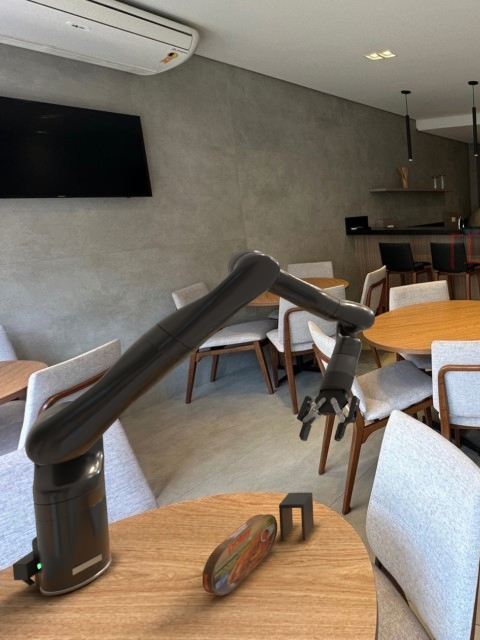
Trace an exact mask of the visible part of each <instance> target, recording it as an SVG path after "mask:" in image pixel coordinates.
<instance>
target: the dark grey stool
mask: <svg viewBox="0 0 480 640" xmlns="http://www.w3.org/2000/svg"><path fill="white" fill-rule="evenodd" d="M313 497H314V496H313V492H310V491H309V492H288V493H287V494H286V496H284V498H283V499H282V501H280V502H279V504H278V514H279V533H280V535H279V537H280V541H281V542H283V541H285V540H286V538H287V536H288V535H289V533H290V532H291V531H292V530H293V528H294V520H293V509H300V515H301V516H300V518H301V519H300V520H301V539H302V541H306V539H308V536H309V535H310V533H311V532H312V530H313V529H314V528H315V527H314V526H315V525H314V523H315V522H314V499H313Z"/></svg>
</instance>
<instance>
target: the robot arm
mask: <svg viewBox="0 0 480 640" xmlns="http://www.w3.org/2000/svg"><path fill="white" fill-rule="evenodd" d="M225 271H226V274H227V276H226V277H225V278H224V279H223V280H222V281H221V282H220V283H218V285H216V286H215V287H214V288H213V289H212V290H210V291H209V292H208V293H206V294H204V295H203V296H201V297H199V298H197V299H195V300H194V301H192V302H189V303H188V304H185V305H183V306H181V307H179V308H177V309H176V310H174V311H172V312H171V313H169V314H167V315H166V316H164V317H162V319H160V320H158V322H156V323H155V324H154V325H152V326H151V327H150V328H149V329H148V330H146V331H145V332H144V333H143V334H142V335H140V336H139V337H138V338H137V339H136V340H135V341H133V343H132V344H130V346H129V347H128V348H127V349H125V351H124V352H123V353H122V354H121V355H120V356H119V357H118V358H117V359H116V361H115V362H114V363H113V364H112V365H111V366H110V367H109V368H108V370H106V372H105V373H104V374H103V375H102V376H101V377H100V378H99V380H97V381H96V382H95V383H94V384H93V385H92V386H91V387H89V388H88V389H86V390H85V391H84V392H83V393H82V394H80V395H79V396H78V397H76V398H75V399H74V400H67V401H63V402H60V403H57V404H55V405H52V406H50V407H49V408H47V409H46V410H44V411H43V412H41V414H40V415H38V417H36V419H35V420H34V422H33V424H32V426H31V428H30V429H29V431H28V433H27V436H26V438H25V443H24V450H25V454H26V457H27V458H28V460H30V461H31V462H32V463H33V478H32V479H33V481H32V501H33V510H34V521H35V522H34V523H35V533H36V536H35V537H33V539H32V540H31V549H32V551H30V552H29V553H27V554H26V555H24V556H23V557H21V558H20V559H18V560H17V561H16V562H14V563H13V564H12V572H13V580H14V581H22V582H24V583H25V584H26V585H28V586H29V587H31V586H33V585H34V584H35V589H36V590H39V591H40V593H41V595H43V596H47V597H53V596H60V595H65V594H67V593H70V592H73V591H75V590H78V589H80V588H83V587H84V586H86V585H88V584H90V583H91V582H93V581H95V580H96V579H98V578H99V577H100V576H102V575H103V574H104V573H105V572H106V571H107V570H108V569H109V567H110V566H111V564H112V560H113V558H112V554H111V543H110V528H109V515H108V502H107V500H108V499H107V490H106V489H107V487H106V477H105V448H104V447H105V446H104V435H105V434H106V432H107V431H108V430H109V429H110V428H111V427H112V426H113V425H114V424H115V423H116V422H117V420H119V419H120V417H121V416H122V415H124V413H125V412H126V411H127V410H129V408H131V407H132V406H133V405H134V404H135V403H136V402H137V401H138V400H139V399H141V398H142V397H143V396H145V395H146V394H147V393H148V392H150V391H151V390H152V389H154V388H155V387H156V386H157V385H158V384H160V382H162V381H163V380H164V379H166V378H167V377H168V376H169V375H170V374H171V373H173V372H174V371H175V370H177V368H179V367H180V366H181V365H182V364H183V363H185V362H186V361H187V360H188V359H189V358H190V357H191V356H192V355H193V354H195V353H196V351H198V350H199V349H200V348H201V347H202V346H203V345H204V344H206V342H207V341H209V340H210V339H211V338H212V337H213V336H214V335H215V334H216V333H217V332H218V331H219V330H220V329H222V328H223V327H224V326H225V325H226V324H227V323H228V322H229V321H230V320H231V319H233V318H234V317H235V316H236V315H237V314H238V313H239V312H240V311H242V310H243V309H244V308H246V307H247V306H249V305H250V304H251V303H253V302H254V301H256V299H258V298H259V297H261V296H263V295H264V294H265V293H270V294H272V295H274V296H277V297H279V298H281V299H282V300H285V301H287V302H289V303H290V304H293V305H294V306H295V307H297V308H299V309H301V310H303V311H305V312H307V313H309V314H311V315H313V316H315V317H318V318H319V319H322V320H324V321H326V322H329V323H336V326H335V344H334V347H333V350H332V353H331V356H330V359H329V360H328V362H327V365H326V368H325V371H324V374H323V377H322V380H321V383H320V387H319V390H318V391H319V392H318V395H317V396H315V397H314V396H310V395H305V396H304V398H303V401H302V403H301V405H300V409H299V412H298V414H297V416H296V419H297V420H298V421H300V422H301V423H302V425H301V428H300V431H299V435H298V437H299V439H300V440H301V441H302V442H307V441H308V438H309V436H310V433H311V429H312V424H313V423H314V422H315V421H316V420H318V419H320V418H321V417H322V416H325V417H327V416H333V417H334V416H335V417H336V416H337V418H338V420H339V422H338V423H337V427H336V430H335V434H334V437H333V439H334V441H336V442H341V441H342V439H343V438H345V433H346V430H347V426H348V425H349V424H355V423H356V422H357V419H358V414H359V409H360V405H361V399H360V398H359V396H356V395H352V396H350V394H351V392H352V389H353V388H352V387H353V385H354V380H355V377H356V375H357V371H358V370H357V369H358V363H359V359H360V357H361V352H362V347H363V343H362V341H361V339H359V338H358V337H356V336H357V334H359V333H361V332H365V331H368V330H370V329H371V328H372V327H373V326H374V325H375V322H376V316H375V313H374V311H373V310H372V309H371V308H370V307H368V306H367V305H365V304H364V303H363V304H362V303H359V302H356V301H352V300H349V299H343V298H341V297H339V296H338V295H336V294H334V293H332V292H330V291H328V290H326V289H324V288H322V287H320V286H317V285H315V284H312V283H311V282H308V281H306V280H304V279H302V278H300V277H297V276H295V275H293V274H292V273H290V272H288V271H286V270H284V269H283V268H281V265H280V263H279V262H278V260H277V259H276V258H275V257H274V256H272V255H270V254H268V253H266V252H263V251H261V250H258V249H255V248H244V249H240V250H238V251H235V252H234V253H232V254H231V255H230V256H229V257H228V258H227V261H226V263H225ZM314 405H315V406H314ZM347 405H349V409H348V414H347V413H346V411H345V407H346V406H347ZM33 577H34V579H32V578H33Z"/></svg>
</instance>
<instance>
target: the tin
mask: <svg viewBox="0 0 480 640" xmlns="http://www.w3.org/2000/svg"><path fill="white" fill-rule="evenodd" d="M277 535H278V521H277V518H276V517H275V515H274V514H271V513H269V514H255V515H253V516H252V517H250V518H249V519H247V520H246V521H245V522H244V523H243V524H242V525H240V527H238V528H237V529H236V530H235V531H234V532H232V533H231V534H230V535H229V536H228V537H227V538H225V539H224V540H223V541H222V542H221V543H220V544H218V545H217V546H216V547H215V548H214V549H213V551H212V552H211V553H210V555H209V557H208V558H207V560H206V562H205V565H204V567H203V570H202V586H203V589H204V592H206V593H208V594H212V595H213V594H214V595H217V596H219V597H220V596H226V595H227V594H229V593H231V592H232V591H233V590H234V589H236V588H237V587H238V586H239V585H240V584H241V583H242V582H243V581H244V580H245V578H246V577H247V576H248V575H249V574H250V573H251V572H252V571H254V569H256V567H258V565H260V563H261V562H262V561H263V560H264V559H265V558H266V557H267V556H268V555H269V554H270V552H271V550H272V548H273V547H274V544H275V541H276V540H277V539H276V538H277Z"/></svg>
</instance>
